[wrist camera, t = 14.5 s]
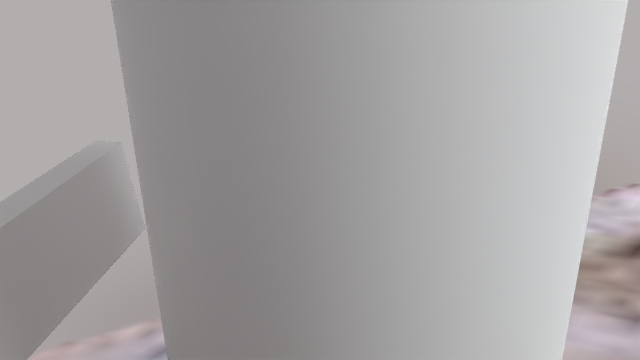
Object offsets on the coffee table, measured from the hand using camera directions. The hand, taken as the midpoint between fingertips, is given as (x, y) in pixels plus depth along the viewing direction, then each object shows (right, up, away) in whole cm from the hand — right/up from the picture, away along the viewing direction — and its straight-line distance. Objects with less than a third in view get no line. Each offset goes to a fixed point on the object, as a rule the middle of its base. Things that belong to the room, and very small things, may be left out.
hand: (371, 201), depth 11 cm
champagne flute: (0, -14, +4) cm, 14 cm away
